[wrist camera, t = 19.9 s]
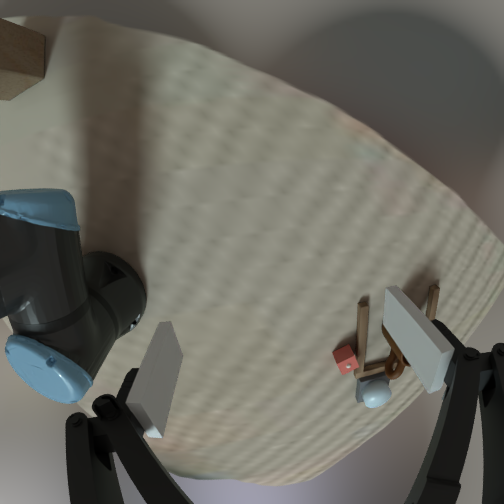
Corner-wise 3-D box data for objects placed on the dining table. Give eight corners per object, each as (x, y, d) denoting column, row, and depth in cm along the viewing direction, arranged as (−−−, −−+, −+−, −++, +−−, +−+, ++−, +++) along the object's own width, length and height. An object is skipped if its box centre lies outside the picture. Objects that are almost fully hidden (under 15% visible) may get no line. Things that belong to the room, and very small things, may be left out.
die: (337, 363, 51) (343, 376, 48) (332, 352, 50) (337, 366, 47) (354, 355, 51) (360, 368, 47) (348, 343, 50) (355, 357, 46)
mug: (387, 357, 52) (405, 387, 43) (360, 350, 51) (377, 382, 42) (420, 310, 48) (444, 336, 39) (394, 299, 47) (418, 327, 38)
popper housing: (355, 396, 55) (357, 402, 54) (357, 376, 53) (360, 382, 51) (383, 388, 55) (386, 394, 53) (387, 368, 53) (390, 374, 51)
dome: (360, 400, 53) (363, 410, 51) (362, 383, 51) (366, 393, 48) (384, 394, 53) (389, 403, 50) (388, 376, 51) (393, 385, 48)
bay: (353, 374, 53) (355, 378, 51) (357, 303, 47) (360, 307, 45) (422, 353, 52) (425, 357, 51) (435, 284, 46) (439, 288, 45)
